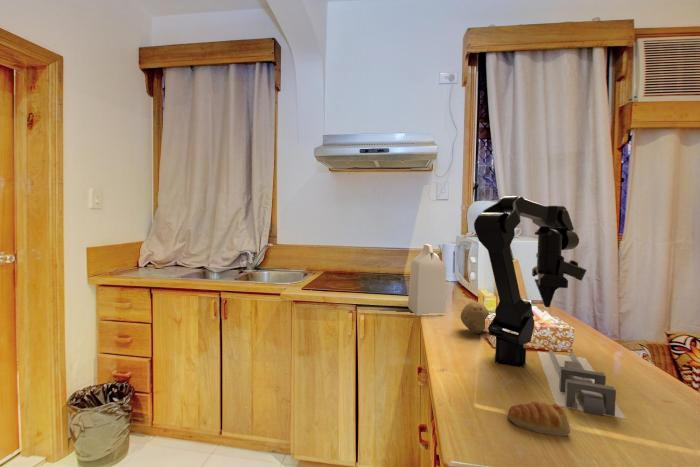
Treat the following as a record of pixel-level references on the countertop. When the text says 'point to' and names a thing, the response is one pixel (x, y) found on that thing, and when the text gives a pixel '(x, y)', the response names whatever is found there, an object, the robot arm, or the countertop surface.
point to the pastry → (540, 418)
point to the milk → (427, 283)
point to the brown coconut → (474, 316)
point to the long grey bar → (586, 393)
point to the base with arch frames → (576, 382)
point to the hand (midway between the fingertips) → (547, 306)
